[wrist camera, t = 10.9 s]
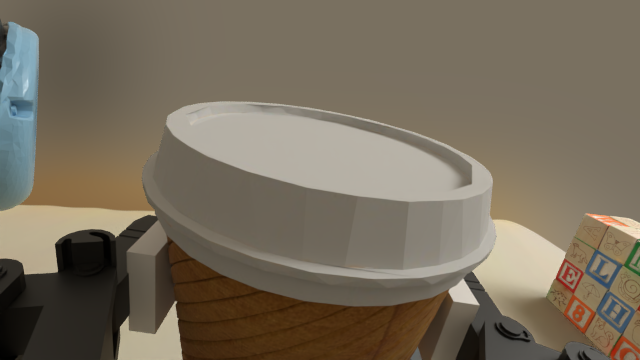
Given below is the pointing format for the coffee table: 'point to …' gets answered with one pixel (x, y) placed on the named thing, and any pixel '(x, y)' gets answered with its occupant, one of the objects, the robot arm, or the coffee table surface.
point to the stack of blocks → (603, 284)
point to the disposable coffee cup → (311, 231)
